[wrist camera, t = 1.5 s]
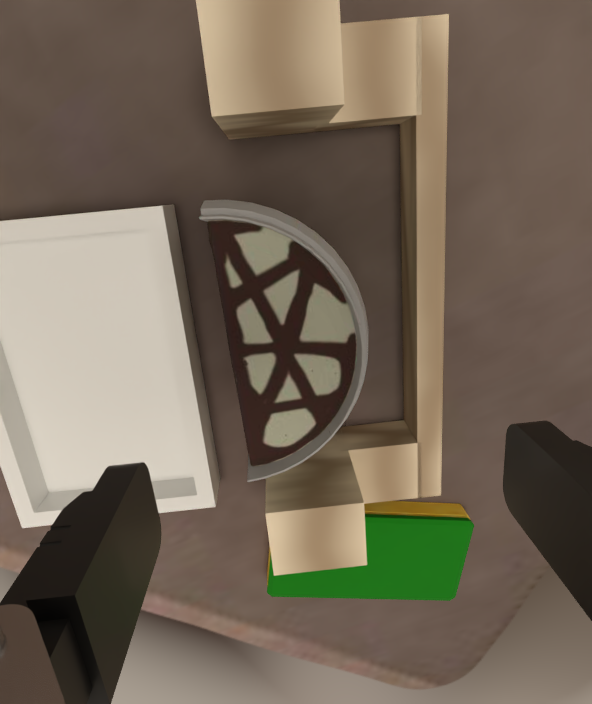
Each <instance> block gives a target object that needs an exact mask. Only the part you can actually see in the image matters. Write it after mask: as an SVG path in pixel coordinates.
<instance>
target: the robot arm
mask: <svg viewBox="0 0 592 704" xmlns="http://www.w3.org/2000/svg"><path fill="white" fill-rule="evenodd" d="M503 492H504V497H505V500H506V503H507V506H508V508H509V510H510V512H511V514H512V515H513V516H514V518H515V519H516V520H517V522H518V523H519V524H520V526H521V527H522V528H523V530H524V531H525V533H526V534H527V535H528V537H529V538H530V539H531V541H532V542H533V543H534V545H535V546H536V547H537V549H538V550H539V551H540V553H541V554H542V555H543V557H544V558H545V559H546V561H547V562H548V563H549V565H550V566H551V567H552V569H553V570H554V571H555V573H556V574H557V575H558V576H559V578H560V579H561V581H562V582H563V583H564V584H565V586H566V587H567V588H568V590H569V591H570V593H571V594H572V595H573V597H574V598H575V599H576V600H577V602H578V603H579V605H580V606H581V607H582V608H583V610H584V611H585V613H586V614H587V615H588V617H589V618H590V619H591V621H592V447H590V446H588V445H585V444H583V443H581V442H579V441H577V440H576V441H572V440H571V439H570V438H569V437H568V436H566V435H565V434H564V433H563V432H561V431H560V430H559V429H558V428H557V427H555V426H554V425H553V424H552V423H550V422H548V421H537V422H528V423H518V424H511V425H510V426H509V427H508V429H507V433H506V445H505V460H504V475H503ZM160 544H161V523H160V517H159V513H158V508H157V504H156V500H155V495H154V491H153V487H152V482H151V478H150V473H149V470H148V467H147V465H146V464H145V463H144V462H140V463H131V464H121V465H112V466H108V467H107V468H106V469H105V471H104V472H103V474H102V476H101V477H100V479H99V481H98V482H97V484H96V485H95V487H94V489H93V490H92V491H86V492H83V493H81V494H80V495H79V496H78V497H76V498H75V499H74V500H73V501H72V502H70V503H69V504H68V505H67V506H66V507H64V508H63V509H62V511H61V512H60V514H59V515H58V517H57V518H56V520H55V521H54V523H53V524H52V526H51V530H50V531H48V532H47V533H46V535H45V536H44V538H43V539H42V541H41V542H40V547H37V548H36V550H35V551H34V553H33V554H32V556H31V557H30V559H29V560H28V562H27V563H26V565H25V566H24V568H23V569H22V571H21V572H20V574H19V575H18V577H17V578H16V580H15V581H14V583H13V585H12V586H11V588H10V589H9V591H8V592H7V594H6V595H5V597H4V598H3V600H2V601H1V603H0V704H111V701H112V698H113V695H114V692H115V689H116V685H117V682H118V679H119V676H120V673H121V670H122V667H123V663H124V660H125V657H126V654H127V651H128V648H129V644H130V641H131V638H132V635H133V632H134V629H135V626H136V622H137V619H138V616H139V613H140V610H141V607H142V604H143V600H144V597H145V594H146V591H147V588H148V585H149V582H150V578H151V575H152V572H153V569H154V566H155V563H156V559H157V556H158V553H159V550H160Z"/></svg>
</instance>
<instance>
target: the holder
mask: <svg viewBox="0 0 592 704" xmlns="http://www.w3.org/2000/svg"><path fill="white" fill-rule="evenodd" d="M196 4H197V11H198V19H199V26H200V34H201V41H202V48H203V56H204V63H205V70H206V78H207V85H208V93H209V100H210V107H211V115H212V118H213V119H214V120H215V121H216V123H217V124H218V125H219V127H220V128H221V129H222V131H223V132H224V133H225V135H226V136H227V137H228V139H229V140H233V139H244V138H254V137H265V136H276V135H287V134H297V133H308V132H319V131H330V130H340V129H351V128H362V127H373V126H384V125H394V124H400V178H401V249H402V320H403V391H404V420H400V421H391V422H381V423H372V424H363V425H353V426H344V427H340V428H339V430H338V431H337V432H336V433H335V435H334V436H333V437H332V438H331V439H330V440H329V441H328V442H327V443H326V444H325V445H324V446H323V447H322V448H321V449H320V450H319V451H318V452H316V453H315V454H314V455H312V456H311V457H309V458H308V459H307V460H305V461H304V462H302V463H301V464H299V465H297V466H295V467H293V468H291V469H289V470H287V471H285V472H282V473H280V474H277V475H274V476H271V477H268V478H266V510H265V514H266V521H267V529H268V536H269V544H270V551H271V558H272V566H273V573H274V576H276V575H285V574H293V573H302V572H311V571H320V570H329V569H338V568H346V567H355V566H364V565H367V551H366V531H365V510H364V504H367V503H376V502H385V501H394V500H403V499H412V498H421V497H430V496H439V495H441V457H442V397H443V336H444V276H445V215H446V154H447V94H448V33H449V14H444V15H433V16H421V17H410V18H399V19H387V20H376V21H364V22H353V23H342V24H341V23H340V3H339V0H196Z"/></svg>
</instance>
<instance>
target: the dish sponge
mask: <svg viewBox="0 0 592 704" xmlns="http://www.w3.org/2000/svg"><path fill="white" fill-rule="evenodd" d="M364 510H365V531H366V551H367V565H364V566H355V567H346V568H338V569H329V570H320V571H311V572H302V573H293V574H285V575H276V576H274V573H273V566H272V558H271V551H270V548H269V559H268V570H267V586H268V587H267V593H268V594H269V595H271V596H272V597H315V598H360V599H404V600H449V601H450V600H451V599H453V598H455V596H456V592H457V589H458V585H459V581H460V577H461V573H462V570H463V566H464V562H465V558H466V554H467V550H468V547H469V543H470V539H471V535H472V531H473V528H474V524H473V523H472V521H471V520H470V518H469V516H468V515H467V513H466V511H465V510H464V508H463V507H462V506H461V505H460V504H452V503H429V502H406V501H385V502H376V503H367V504H364Z"/></svg>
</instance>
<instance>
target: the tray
mask: <svg viewBox="0 0 592 704" xmlns="http://www.w3.org/2000/svg"><path fill="white" fill-rule="evenodd" d="M140 462H144V463H145V464H146V465H147V467H148V470H149V473H150V478H151V482H152V487H153V491H154V495H155V500H156V504H157V508H158V513H164V512H173V511H182V510H191V509H200V508H210V507H216V502H217V496H218V491H219V485H220V479H221V478H220V473H219V467H218V461H217V455H216V449H215V443H214V437H213V431H212V425H211V419H210V413H209V407H208V402H207V396H206V390H205V384H204V378H203V372H202V366H201V360H200V354H199V348H198V342H197V336H196V331H195V325H194V319H193V313H192V307H191V301H190V295H189V289H188V283H187V277H186V271H185V266H184V260H183V254H182V248H181V242H180V236H179V230H178V224H177V218H176V212H175V206H174V204H173V205H162V206H152V207H141V208H131V209H121V210H110V211H100V212H89V213H79V214H68V215H58V216H47V217H37V218H26V219H16V220H5V221H0V466H1V469H2V472H3V475H4V478H5V480H6V483H7V486H8V489H9V492H10V495H11V498H12V500H13V503H14V506H15V509H16V512H17V515H18V518H19V520H20V523H21V526H22V528H27V527H36V526H45V525H52V524H53V523H54V521H55V520H56V518H57V517H58V515H59V514H60V512H61V511H62V509H63V508H64V507H66V506H67V505H68V504H69V503H70V502H72V501H73V500H74V499H75V498H76V497H78V496H79V495H80V494H81V493H83V492H86V491H92V490H93V489H94V487H95V485H96V484H97V482H98V481H99V479H100V477H101V476H102V474H103V472H104V471H105V469H106V468H107V467H108V466H112V465H121V464H131V463H140Z"/></svg>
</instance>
